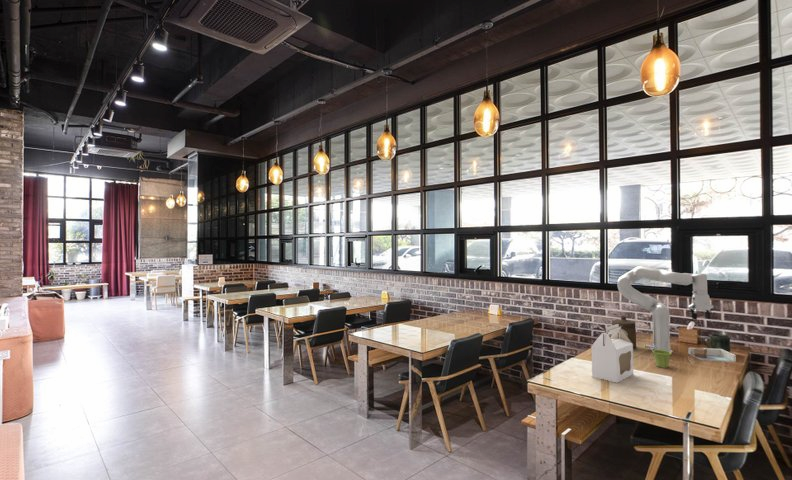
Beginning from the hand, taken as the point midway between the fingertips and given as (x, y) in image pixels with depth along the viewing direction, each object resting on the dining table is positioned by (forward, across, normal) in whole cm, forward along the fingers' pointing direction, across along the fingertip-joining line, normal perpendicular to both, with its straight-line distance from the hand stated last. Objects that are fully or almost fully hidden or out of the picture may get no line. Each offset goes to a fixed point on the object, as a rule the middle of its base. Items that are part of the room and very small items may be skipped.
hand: (701, 318), depth 263 cm
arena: (+24, 0, -6) cm, 25 cm away
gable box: (+24, -82, -28) cm, 90 cm away
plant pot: (+24, -42, -16) cm, 51 cm away
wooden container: (+24, -33, +30) cm, 51 cm away
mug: (+25, +16, +6) cm, 30 cm away
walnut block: (+23, -5, -4) cm, 24 cm away
